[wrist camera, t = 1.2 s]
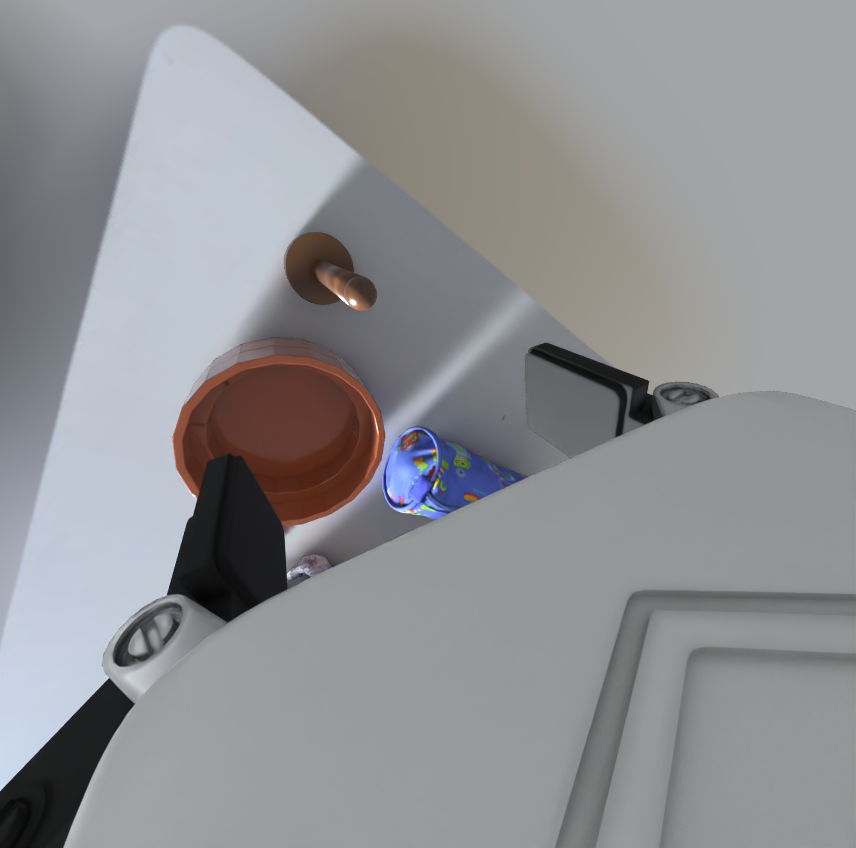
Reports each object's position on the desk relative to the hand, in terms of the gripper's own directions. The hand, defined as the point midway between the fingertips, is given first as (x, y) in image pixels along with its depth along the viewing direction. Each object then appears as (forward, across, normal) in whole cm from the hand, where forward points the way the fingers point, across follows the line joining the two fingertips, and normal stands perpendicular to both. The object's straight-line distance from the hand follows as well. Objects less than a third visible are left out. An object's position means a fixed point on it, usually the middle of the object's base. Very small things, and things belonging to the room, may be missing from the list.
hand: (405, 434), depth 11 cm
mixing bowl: (+22, +6, +8) cm, 25 cm away
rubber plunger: (+22, -1, -3) cm, 23 cm away
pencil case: (+22, -10, +23) cm, 33 cm away
